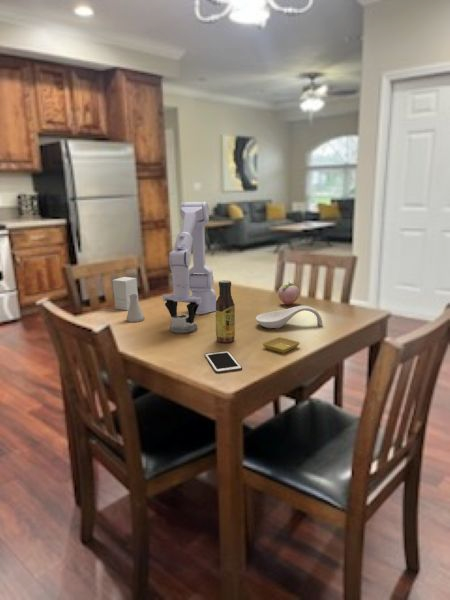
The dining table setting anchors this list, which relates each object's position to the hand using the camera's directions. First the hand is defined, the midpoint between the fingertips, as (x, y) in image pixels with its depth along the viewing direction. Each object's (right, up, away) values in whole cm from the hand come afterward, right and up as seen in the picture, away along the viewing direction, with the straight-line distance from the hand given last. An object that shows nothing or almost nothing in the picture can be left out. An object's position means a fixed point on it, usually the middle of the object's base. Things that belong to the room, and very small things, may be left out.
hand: (183, 321), depth 162 cm
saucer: (+32, -8, -20) cm, 39 cm away
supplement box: (-27, +4, +32) cm, 42 cm away
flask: (-20, 0, +15) cm, 25 cm away
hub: (0, -3, +1) cm, 3 cm away
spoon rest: (+38, -2, +2) cm, 38 cm away
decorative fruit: (+41, +5, +29) cm, 51 cm away
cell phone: (+14, -11, -30) cm, 35 cm away
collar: (0, -2, 0) cm, 2 cm away
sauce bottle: (+15, -6, -11) cm, 20 cm away
